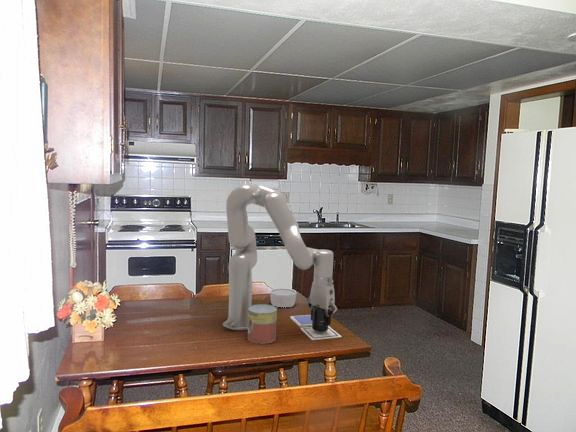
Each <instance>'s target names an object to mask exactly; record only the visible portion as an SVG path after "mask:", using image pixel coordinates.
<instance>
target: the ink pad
mask: <svg viewBox="0 0 576 432" xmlns="http://www.w3.org/2000/svg"><path fill="white" fill-rule="evenodd" d="M289 319H291V321H292V322H294V323H295V325H297V326H298V328H306V327H309V326H310V327H312V320H311V314H305V315H291V316H290V317H289Z"/></svg>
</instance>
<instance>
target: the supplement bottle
mask: <svg viewBox="0 0 576 432" xmlns="http://www.w3.org/2000/svg"><path fill="white" fill-rule="evenodd" d="M316 306H319V305H316ZM316 306H315V307H314V308H313V319H312V326H311V327H312V329H313V330H315V331H318V332H325V331H327V330H328V326H329V327H330V325H327V326H325V325H324V319H325V316H326V314H325V310H324V309H322V308H320V306H319V307H316ZM328 312H329V311H328Z"/></svg>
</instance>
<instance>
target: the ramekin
mask: <svg viewBox="0 0 576 432" xmlns="http://www.w3.org/2000/svg"><path fill="white" fill-rule="evenodd" d="M297 294H298V292H297V291H296V290H295V289H292V288H287V287H280V288H279V287H278V288H273V289H270V292H269V295H270V303H271V304H270V305H272V306H276V308H278V307H281V308H280V309H287V308H286V307H290V308H292V307H294V305H295V303H296V299H297ZM282 307H283V308H282ZM284 307H285V308H284Z"/></svg>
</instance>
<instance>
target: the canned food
mask: <svg viewBox="0 0 576 432" xmlns="http://www.w3.org/2000/svg"><path fill="white" fill-rule="evenodd" d="M248 310H249V312H248V329H247V337H246V338H248V339H247V340H248V342H251V343H253V342H255V343H254V344H258V343H260V344H259V345H264V344H266V343H267V344H270V343H273V341H274V342H275V341H276V340H277V318H278V317H277V316H278V315H277V314H278V313H277V312H278V307H275V306H273V305H272V304H265V303H264V304H263V303H258V304H251V306H250V307H249V308H248Z"/></svg>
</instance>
